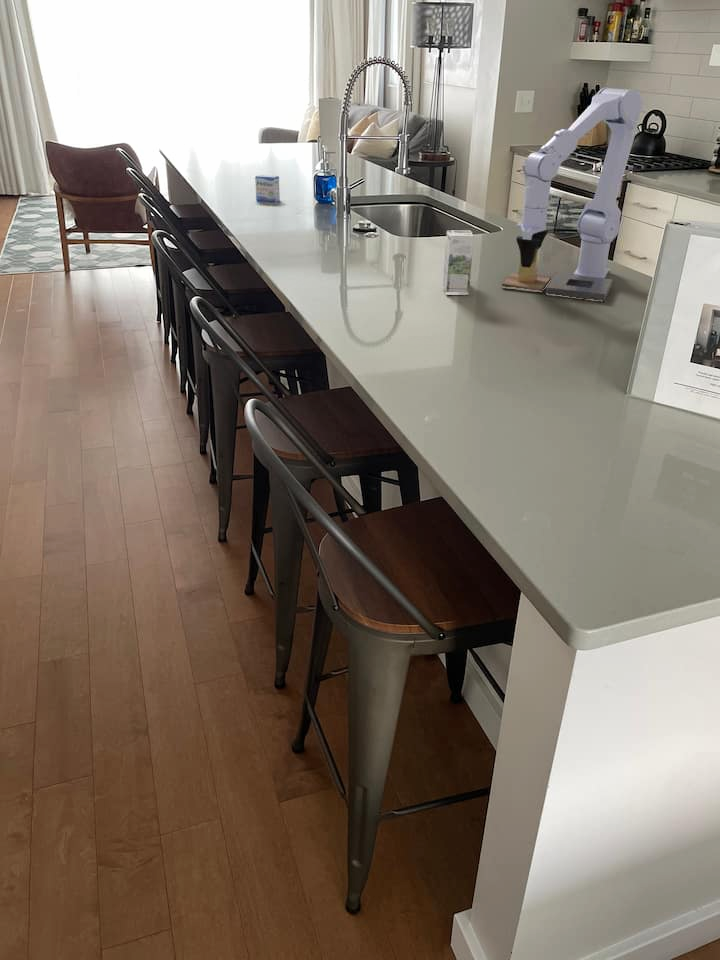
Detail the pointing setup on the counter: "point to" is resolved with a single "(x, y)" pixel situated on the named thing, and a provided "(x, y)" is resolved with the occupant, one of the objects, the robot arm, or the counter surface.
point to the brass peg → (530, 269)
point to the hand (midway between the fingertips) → (529, 263)
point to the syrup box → (458, 260)
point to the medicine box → (267, 188)
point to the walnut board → (537, 285)
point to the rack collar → (579, 286)
